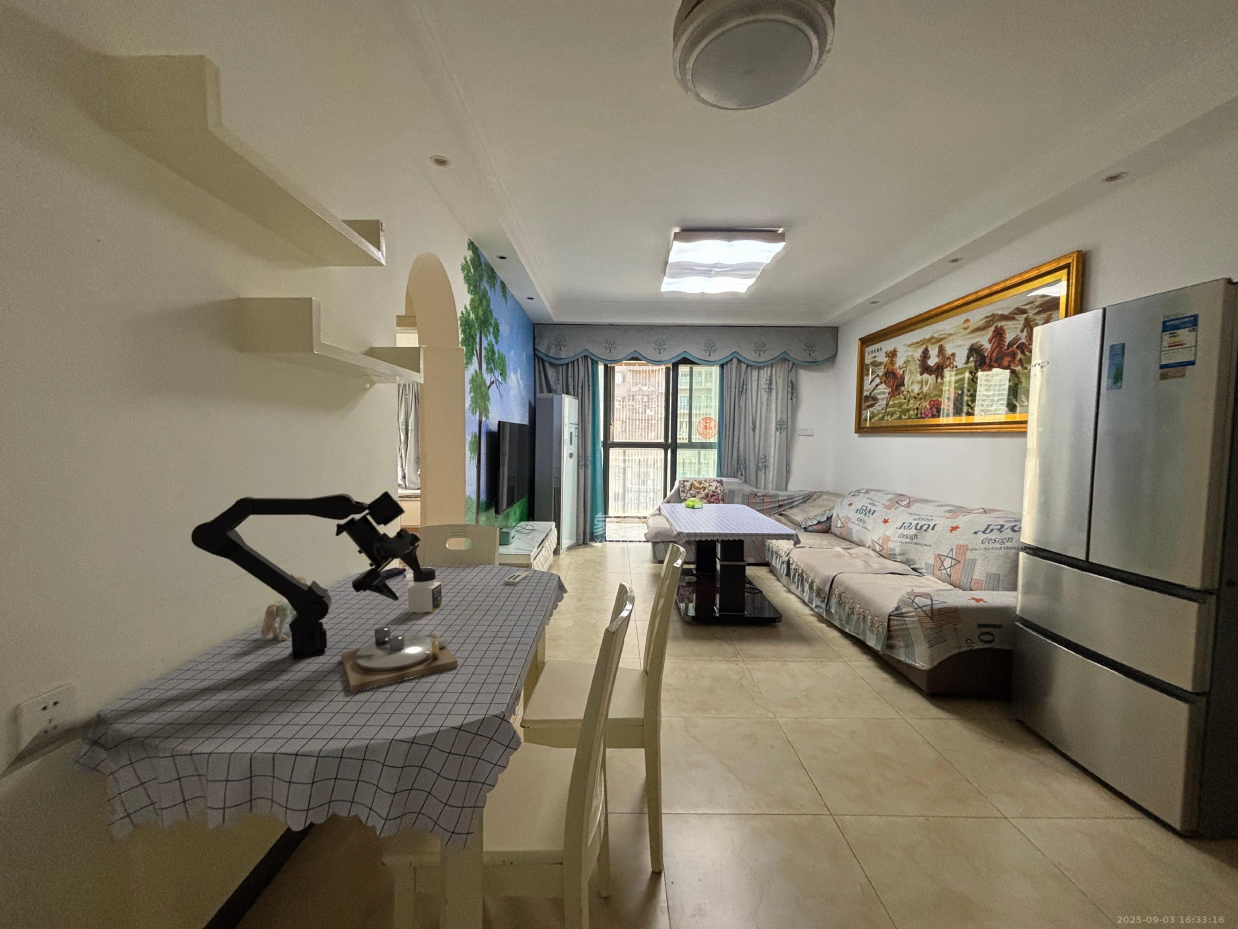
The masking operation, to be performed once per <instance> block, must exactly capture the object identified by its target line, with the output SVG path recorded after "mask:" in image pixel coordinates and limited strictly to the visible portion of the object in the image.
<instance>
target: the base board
mask: <svg viewBox="0 0 1238 929" xmlns="http://www.w3.org/2000/svg"><path fill="white" fill-rule="evenodd" d="M423 636H427V637H431V638H433V639H437V638H439V637H438V636H437V635H436V634H435V633H430V634H425V635H423ZM362 648H363V647H362ZM362 648H358V649H357V648H355V649H351V650H347V651H342V652H340V654H341V656H340V657H341V663H342V666H343V669H344V673H345V677H346V680H347V682H349V683H348V686H349V685H350V686H349V689H350V692H352V693H351V694H354V693H353V692H355V693H357V692H356V691H359V690H363V689H367V688H370V687H374V686H379V687H381V686H380V685H383V684H387V683H391V682H396V681H399V680H403V679H405V678H410V677H415V676H420V675H424V674H428V675H430V674H429V673H432V674H434V673H433V672H436V673H438V672H437V671H440V672H442V671H441V670H445V671H448V670H447V669H449V670H451V669H450V668H453V669H456V668H455V667H457V668H459V667H458V666H459V665H458V659H457V658H456V657H455V656H454V654H453V653H452V652H451V651H450V650H449V649H448V648H447V646H445V647H441V648H439V659H438V660H432V657H431V658H430V659H428V660H426V661H424V662H422V663H419V664H417V665H414V666H410V667H407V668H402V669H397V670H389V671H369V670H364V669H361V668H359V667H358V666H357V664H356V654H357V652H358V651H359V650H361V649H362ZM424 676H425V675H424ZM420 677H421V676H420ZM396 683H397V682H396ZM383 686H384V685H383ZM367 690H368V689H367ZM363 691H364V690H363ZM359 692H360V691H359Z"/></svg>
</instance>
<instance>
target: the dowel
mask: <svg viewBox="0 0 1238 929" xmlns="http://www.w3.org/2000/svg"><path fill="white" fill-rule="evenodd" d="M438 659H439V642H432V660H438Z"/></svg>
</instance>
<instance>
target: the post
mask: <svg viewBox="0 0 1238 929" xmlns="http://www.w3.org/2000/svg"><path fill="white" fill-rule="evenodd" d="M405 636H406V635H402V634H397V635H393V636H391V637H390V638H389V640H390V650H391V651H397V650H401V649H404V648H405Z"/></svg>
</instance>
